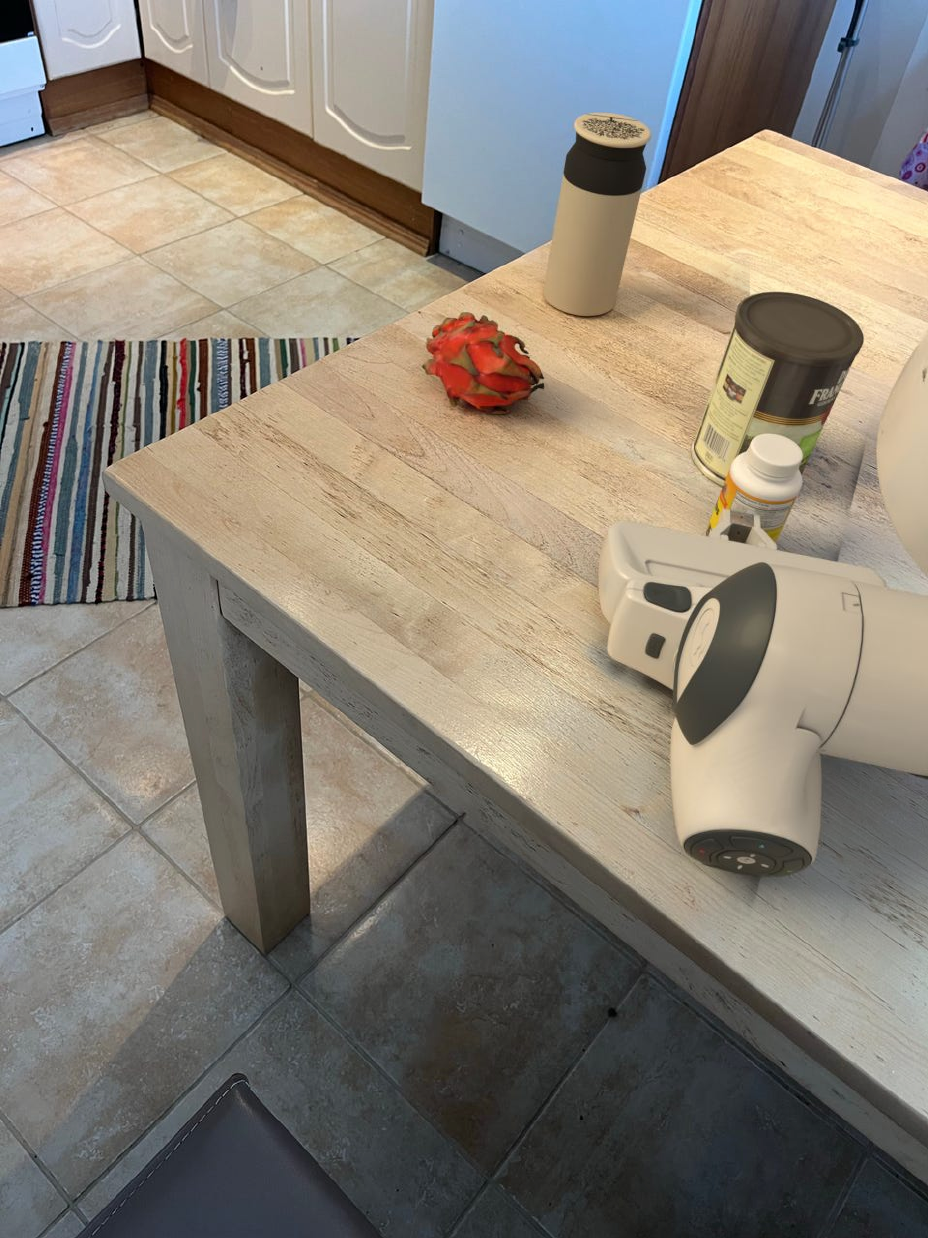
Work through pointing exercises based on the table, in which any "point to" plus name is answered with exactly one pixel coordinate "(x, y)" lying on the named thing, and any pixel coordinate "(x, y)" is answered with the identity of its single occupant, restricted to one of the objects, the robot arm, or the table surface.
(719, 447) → the coffee can
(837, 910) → the table surface
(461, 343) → the dragon fruit
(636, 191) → the travel mug
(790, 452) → the supplement bottle
